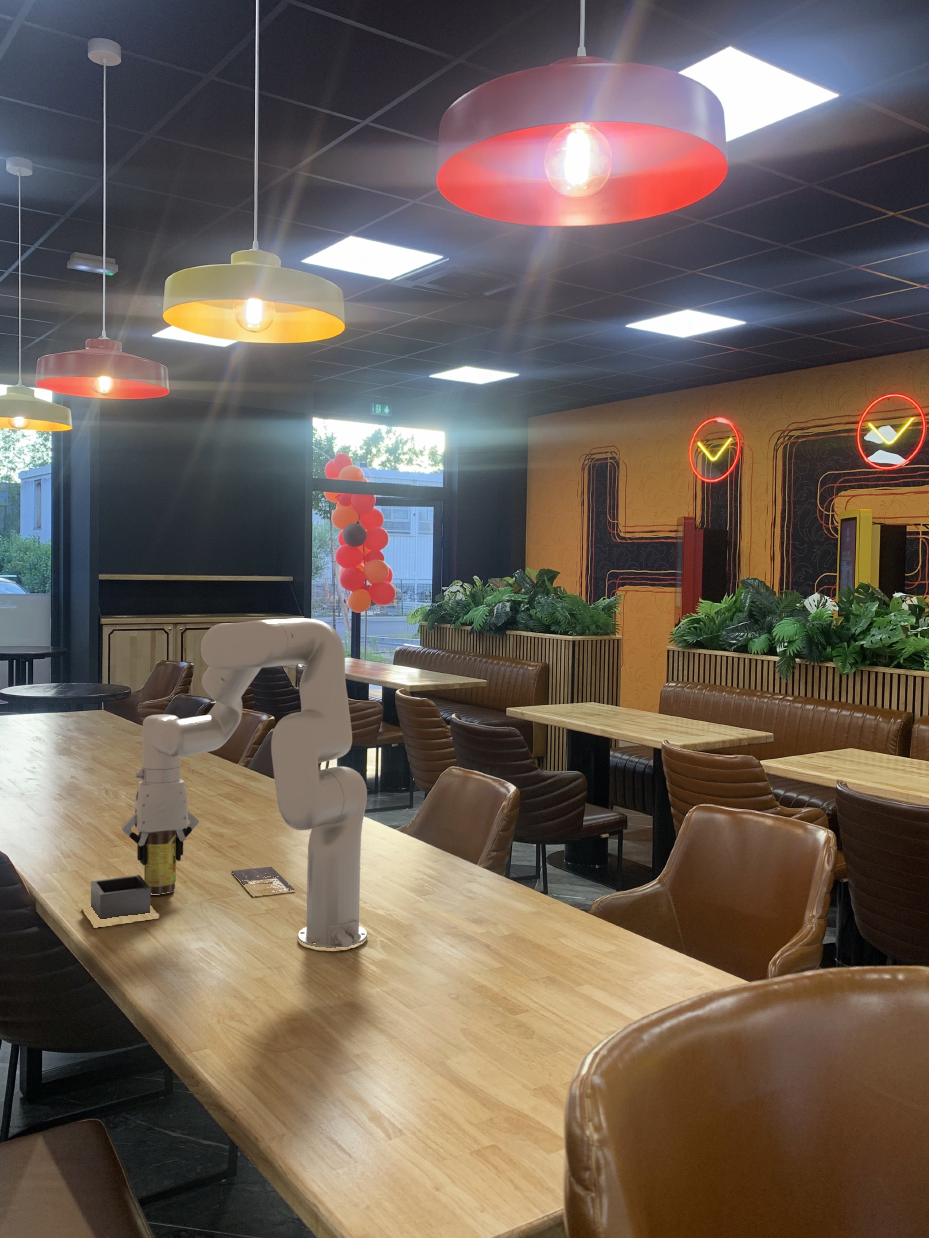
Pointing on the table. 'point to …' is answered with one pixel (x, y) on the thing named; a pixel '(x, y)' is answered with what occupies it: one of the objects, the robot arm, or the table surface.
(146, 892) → the condiment holder
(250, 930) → the table surface
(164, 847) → the sauce bottle
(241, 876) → the chocolate bar
